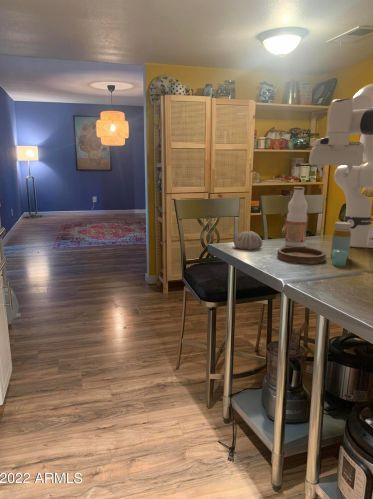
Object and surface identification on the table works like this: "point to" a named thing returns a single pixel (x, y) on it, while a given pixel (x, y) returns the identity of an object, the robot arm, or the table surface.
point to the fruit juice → (296, 219)
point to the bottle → (341, 237)
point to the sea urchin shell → (248, 240)
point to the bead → (339, 257)
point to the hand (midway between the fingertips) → (333, 177)
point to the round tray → (301, 255)
